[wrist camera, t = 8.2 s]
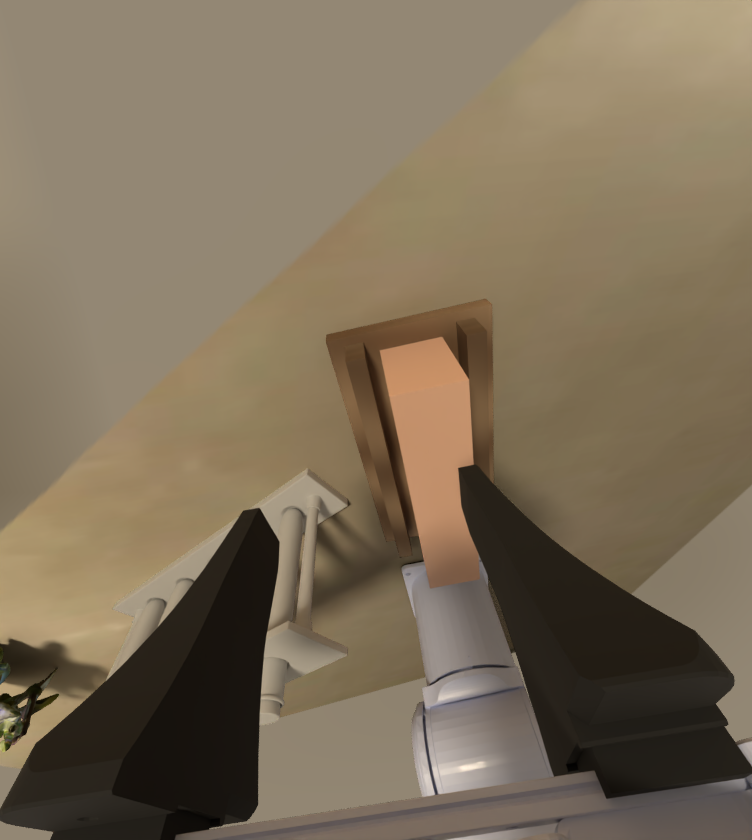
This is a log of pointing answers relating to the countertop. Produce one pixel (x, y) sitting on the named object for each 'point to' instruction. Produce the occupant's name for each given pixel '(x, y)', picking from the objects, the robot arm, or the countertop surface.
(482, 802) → the robot arm
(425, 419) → the peach rectangular block
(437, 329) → the strip rack
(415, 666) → the countertop surface
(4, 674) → the passion flower
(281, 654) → the test tube rack
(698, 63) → the countertop surface
